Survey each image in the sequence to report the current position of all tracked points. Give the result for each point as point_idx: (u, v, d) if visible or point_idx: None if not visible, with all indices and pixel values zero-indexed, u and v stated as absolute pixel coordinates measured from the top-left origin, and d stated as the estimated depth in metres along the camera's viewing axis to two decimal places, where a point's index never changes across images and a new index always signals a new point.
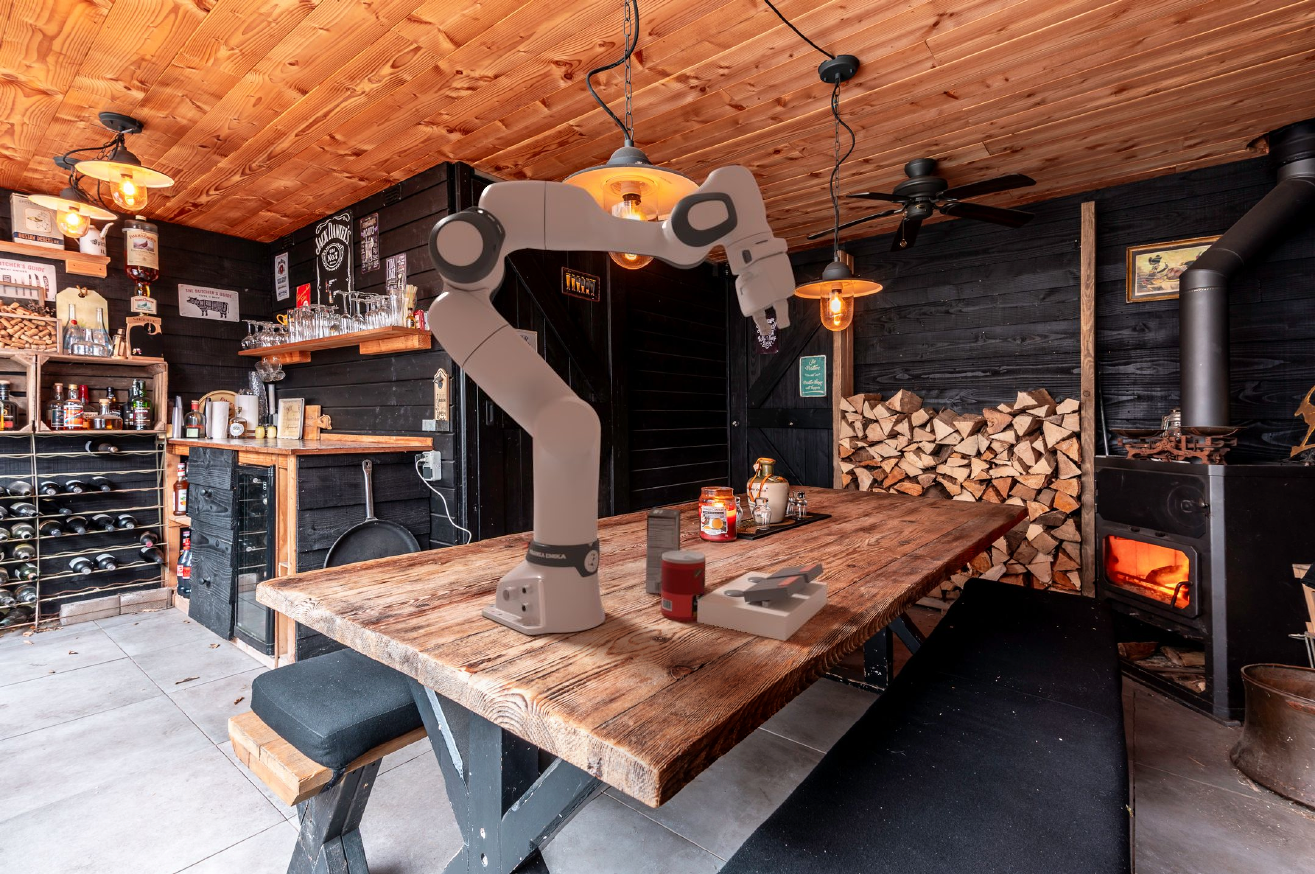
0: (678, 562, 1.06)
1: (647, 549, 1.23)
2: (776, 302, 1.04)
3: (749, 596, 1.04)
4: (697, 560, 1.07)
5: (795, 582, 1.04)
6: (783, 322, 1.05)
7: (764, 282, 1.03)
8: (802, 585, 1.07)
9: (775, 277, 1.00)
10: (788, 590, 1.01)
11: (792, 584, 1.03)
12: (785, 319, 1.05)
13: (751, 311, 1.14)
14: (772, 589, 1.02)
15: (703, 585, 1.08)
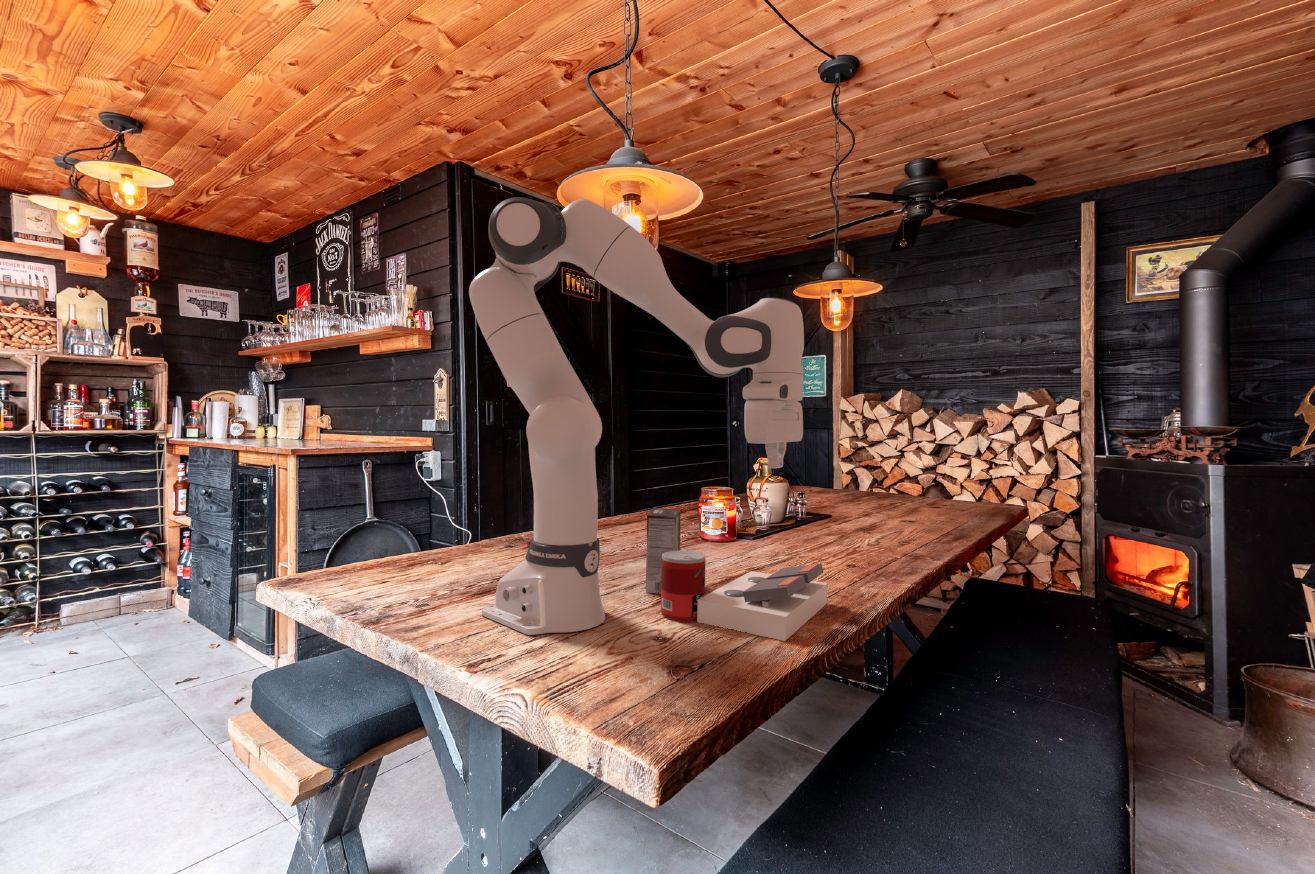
0: (678, 562, 1.06)
1: (647, 549, 1.23)
2: (766, 443, 1.07)
3: (749, 596, 1.04)
4: (697, 560, 1.07)
5: (795, 582, 1.04)
6: (771, 463, 1.08)
7: None
8: (802, 585, 1.07)
9: (749, 422, 1.01)
10: (788, 590, 1.01)
11: (792, 584, 1.03)
12: (774, 460, 1.07)
13: None
14: (772, 589, 1.02)
15: (703, 585, 1.08)
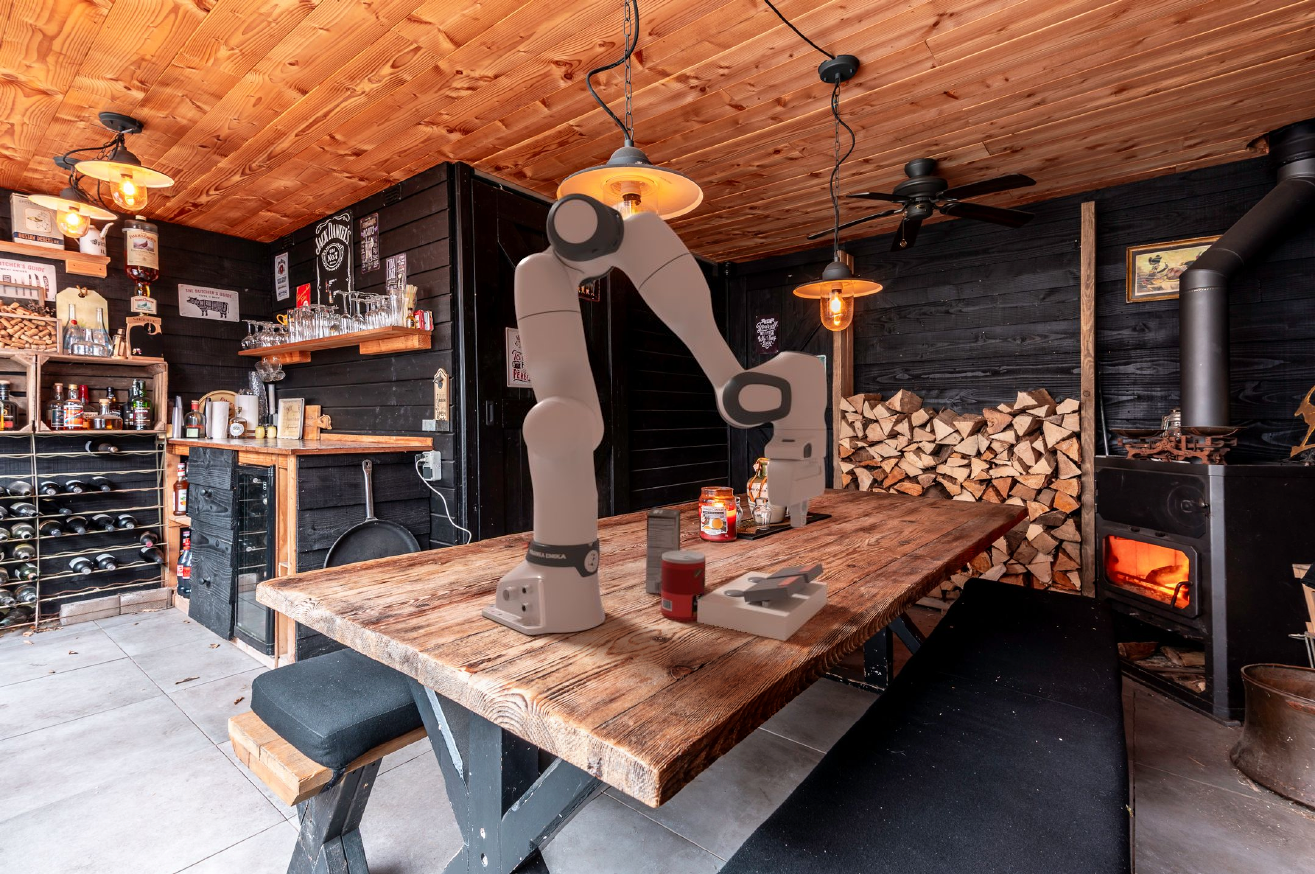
0: (678, 562, 1.06)
1: (647, 549, 1.23)
2: None
3: (749, 596, 1.04)
4: (697, 560, 1.07)
5: (795, 582, 1.04)
6: (794, 522, 1.04)
7: None
8: (802, 585, 1.07)
9: (772, 483, 0.97)
10: (788, 590, 1.01)
11: (792, 584, 1.03)
12: (797, 519, 1.03)
13: None
14: (772, 589, 1.02)
15: (703, 585, 1.08)
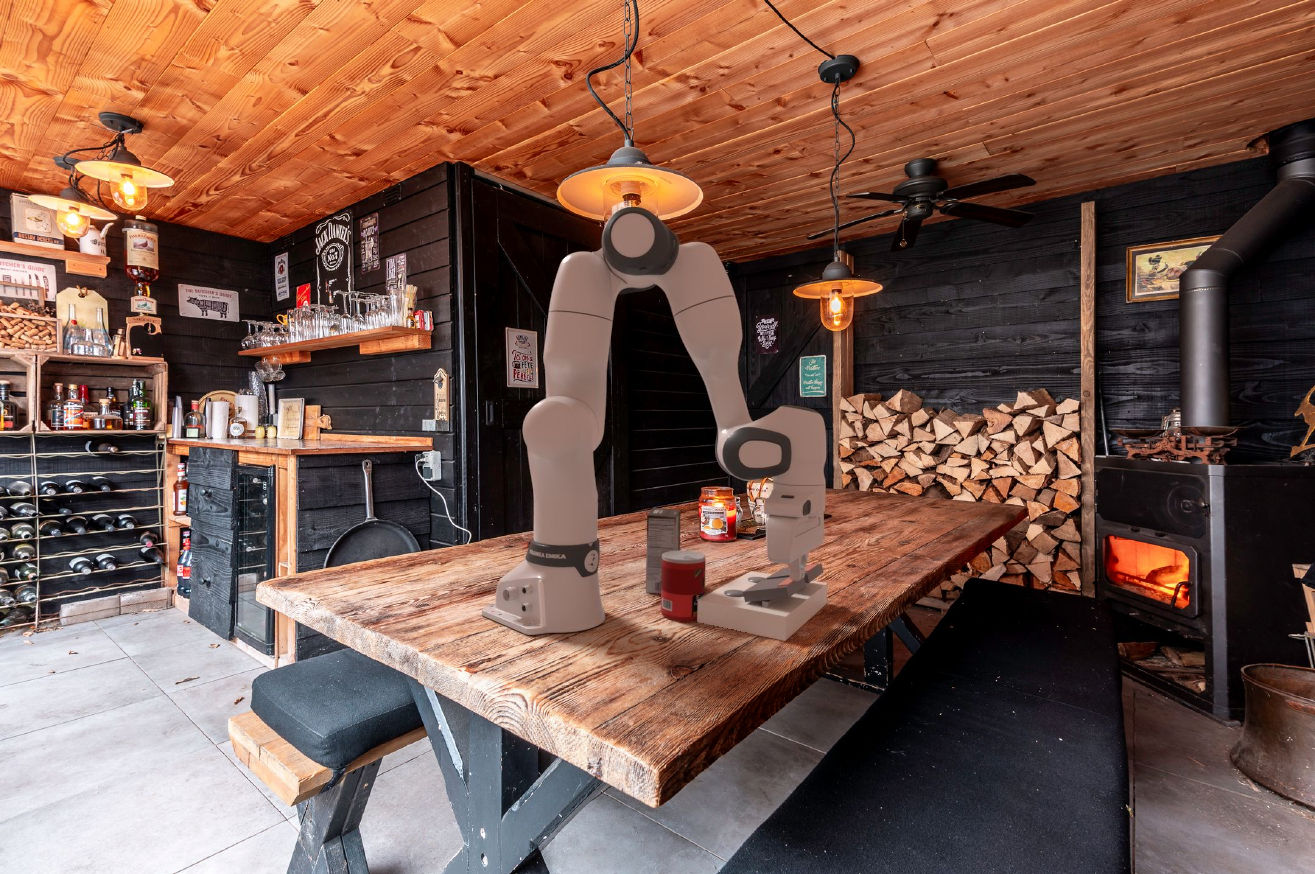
0: (678, 562, 1.06)
1: (647, 549, 1.23)
2: None
3: (749, 596, 1.04)
4: (697, 560, 1.07)
5: (795, 582, 1.04)
6: (793, 575, 1.04)
7: None
8: (802, 585, 1.07)
9: (771, 541, 0.97)
10: (788, 590, 1.01)
11: (792, 584, 1.03)
12: (796, 573, 1.04)
13: None
14: (772, 589, 1.02)
15: (703, 585, 1.08)
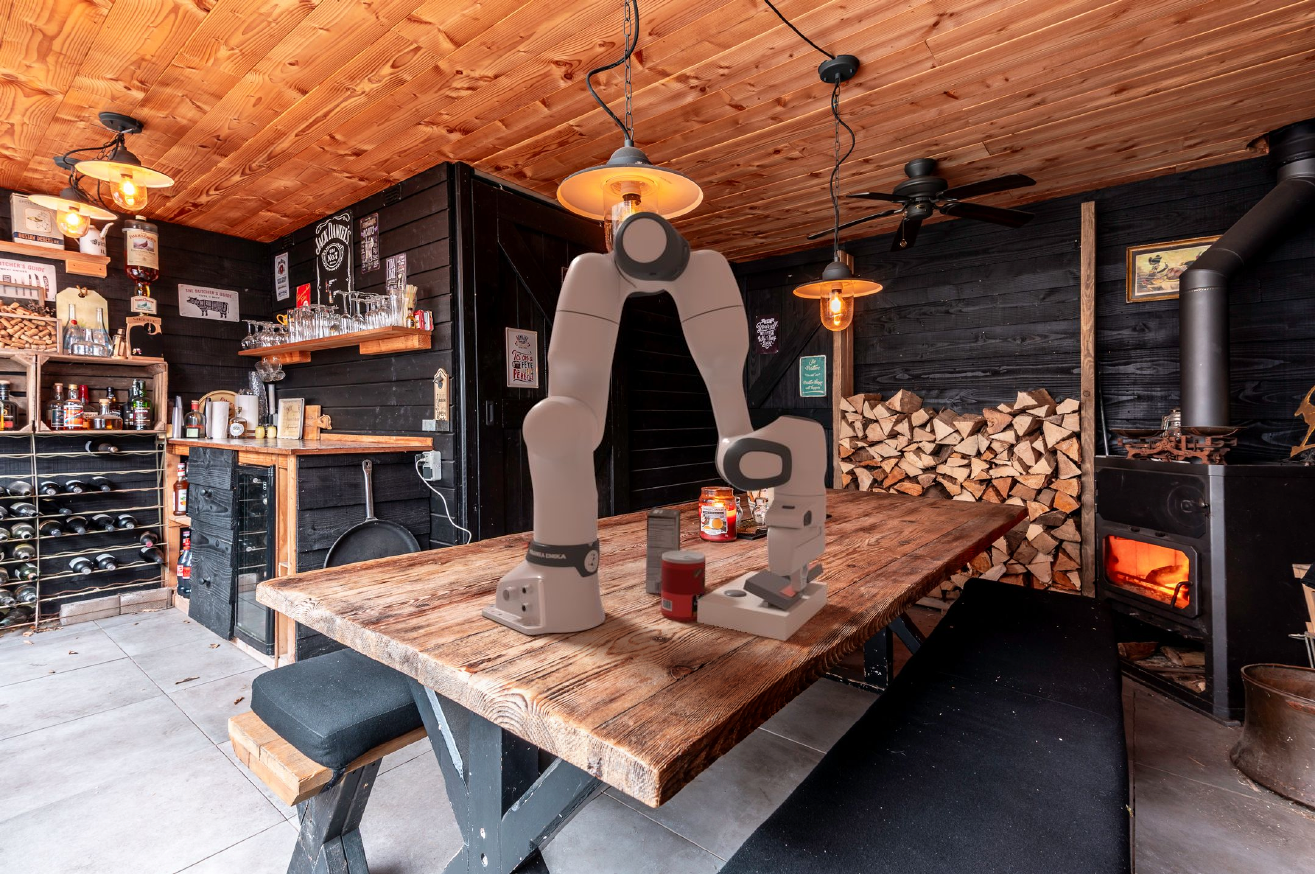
0: (678, 562, 1.06)
1: (647, 549, 1.23)
2: None
3: (750, 587, 1.04)
4: (697, 560, 1.07)
5: (796, 595, 1.04)
6: (794, 585, 1.04)
7: None
8: (800, 597, 1.07)
9: (772, 552, 0.97)
10: (788, 603, 1.01)
11: (794, 597, 1.03)
12: (797, 583, 1.04)
13: None
14: (774, 594, 1.01)
15: (703, 585, 1.08)
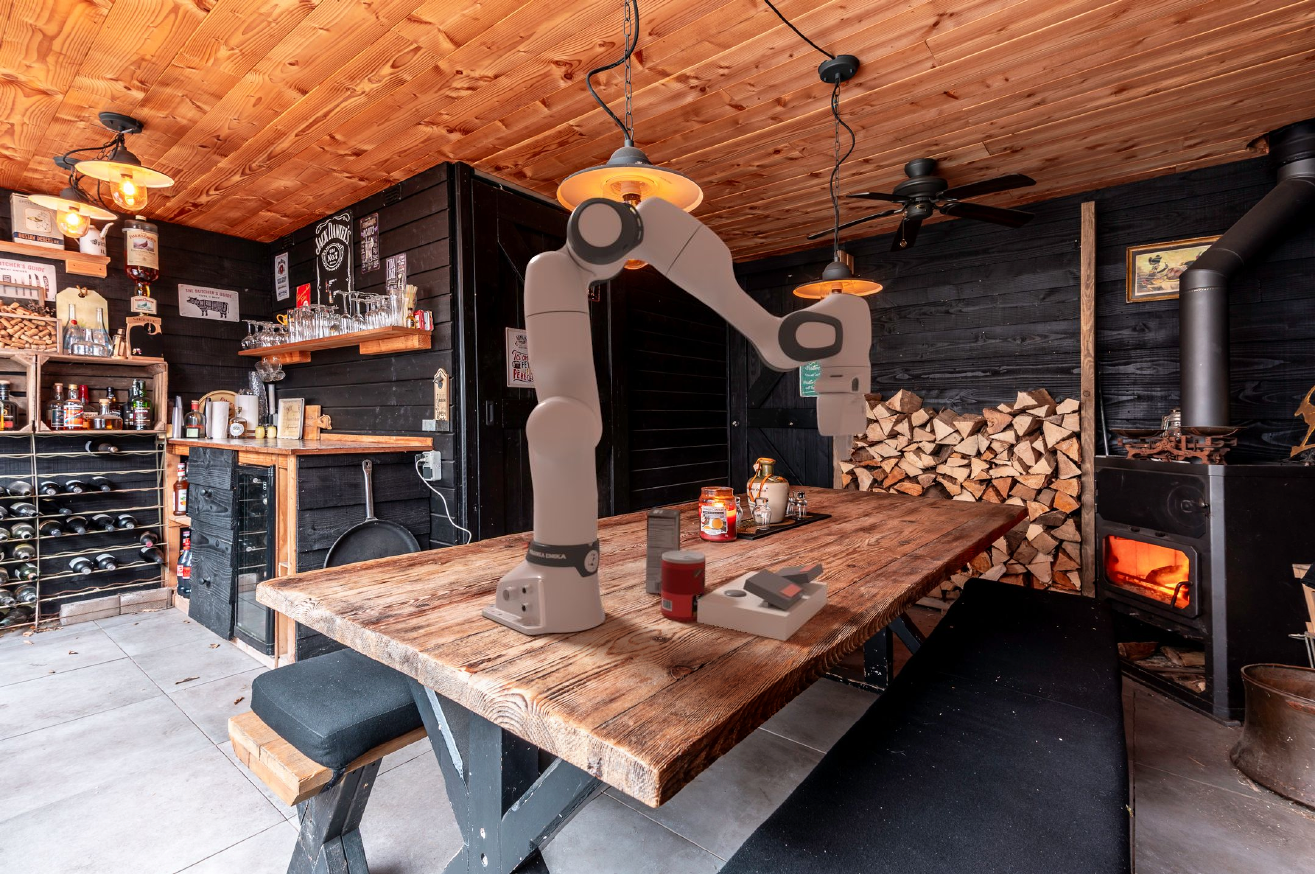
0: (678, 562, 1.06)
1: (647, 549, 1.23)
2: (835, 435, 1.09)
3: (750, 587, 1.04)
4: (697, 560, 1.07)
5: (796, 595, 1.04)
6: (840, 455, 1.10)
7: None
8: (800, 597, 1.07)
9: (822, 414, 1.03)
10: (788, 603, 1.01)
11: (794, 597, 1.03)
12: (843, 452, 1.10)
13: None
14: (774, 594, 1.01)
15: (703, 585, 1.08)
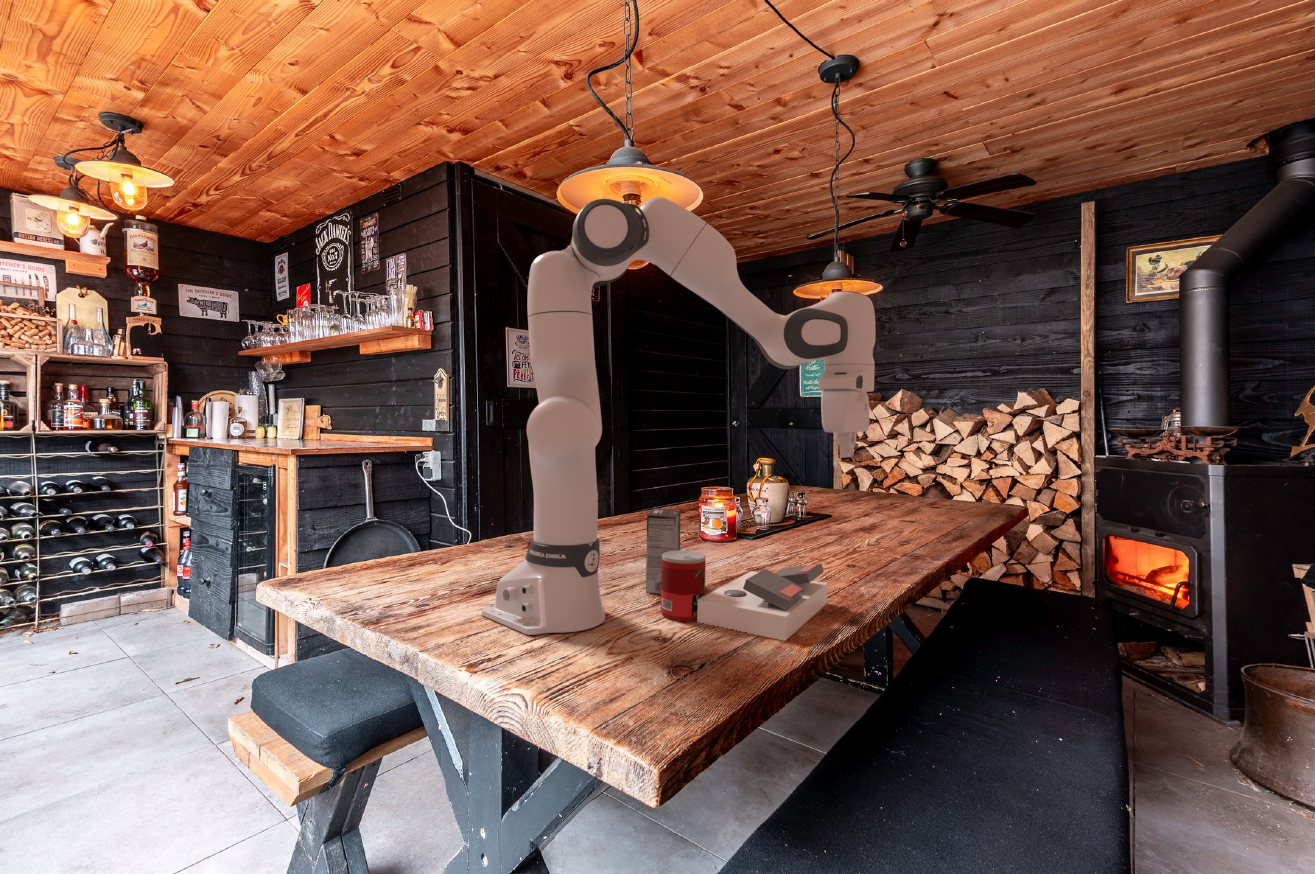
0: (678, 562, 1.06)
1: (647, 549, 1.23)
2: (839, 433, 1.10)
3: (750, 587, 1.04)
4: (697, 560, 1.07)
5: (796, 595, 1.04)
6: (843, 452, 1.11)
7: None
8: (800, 597, 1.07)
9: (826, 411, 1.04)
10: (788, 603, 1.01)
11: (794, 597, 1.03)
12: (846, 449, 1.11)
13: None
14: (774, 594, 1.01)
15: (703, 585, 1.08)
